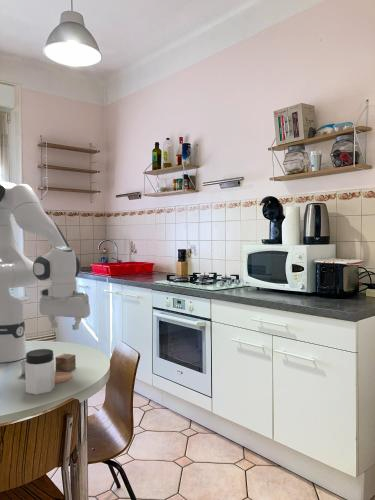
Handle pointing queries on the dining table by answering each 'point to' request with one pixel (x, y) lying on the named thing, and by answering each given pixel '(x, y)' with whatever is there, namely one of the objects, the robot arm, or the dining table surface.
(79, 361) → the dining table surface
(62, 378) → the pink glossy round part
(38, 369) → the jar
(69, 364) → the walnut block
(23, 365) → the tin
